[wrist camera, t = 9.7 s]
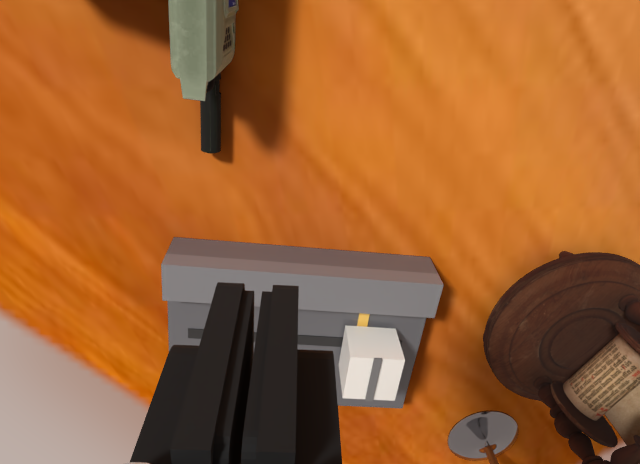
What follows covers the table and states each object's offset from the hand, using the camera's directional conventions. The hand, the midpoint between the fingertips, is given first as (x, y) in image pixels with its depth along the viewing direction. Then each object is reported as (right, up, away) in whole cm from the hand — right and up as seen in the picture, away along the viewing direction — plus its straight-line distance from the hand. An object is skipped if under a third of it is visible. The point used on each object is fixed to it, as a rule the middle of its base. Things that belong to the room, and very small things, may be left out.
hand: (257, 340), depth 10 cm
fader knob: (+5, -7, +29) cm, 30 cm away
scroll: (+22, -5, +32) cm, 40 cm away
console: (-1, -5, +31) cm, 31 cm away
